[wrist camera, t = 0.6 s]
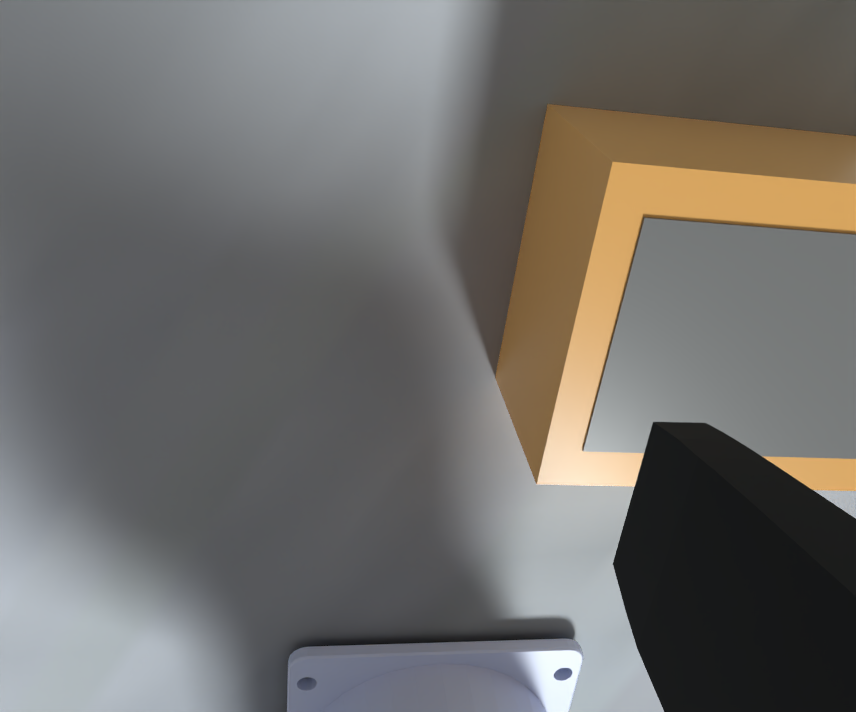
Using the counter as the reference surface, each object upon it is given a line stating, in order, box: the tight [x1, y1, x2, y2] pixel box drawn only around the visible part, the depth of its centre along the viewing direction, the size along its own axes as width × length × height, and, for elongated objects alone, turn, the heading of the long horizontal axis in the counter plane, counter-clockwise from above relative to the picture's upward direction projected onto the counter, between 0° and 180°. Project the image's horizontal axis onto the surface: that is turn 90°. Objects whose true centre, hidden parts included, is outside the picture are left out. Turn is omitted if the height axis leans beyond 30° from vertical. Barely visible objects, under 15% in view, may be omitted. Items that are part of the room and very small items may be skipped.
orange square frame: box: [495, 104, 856, 491], centre depth 16 cm, size 6×7×4 cm
